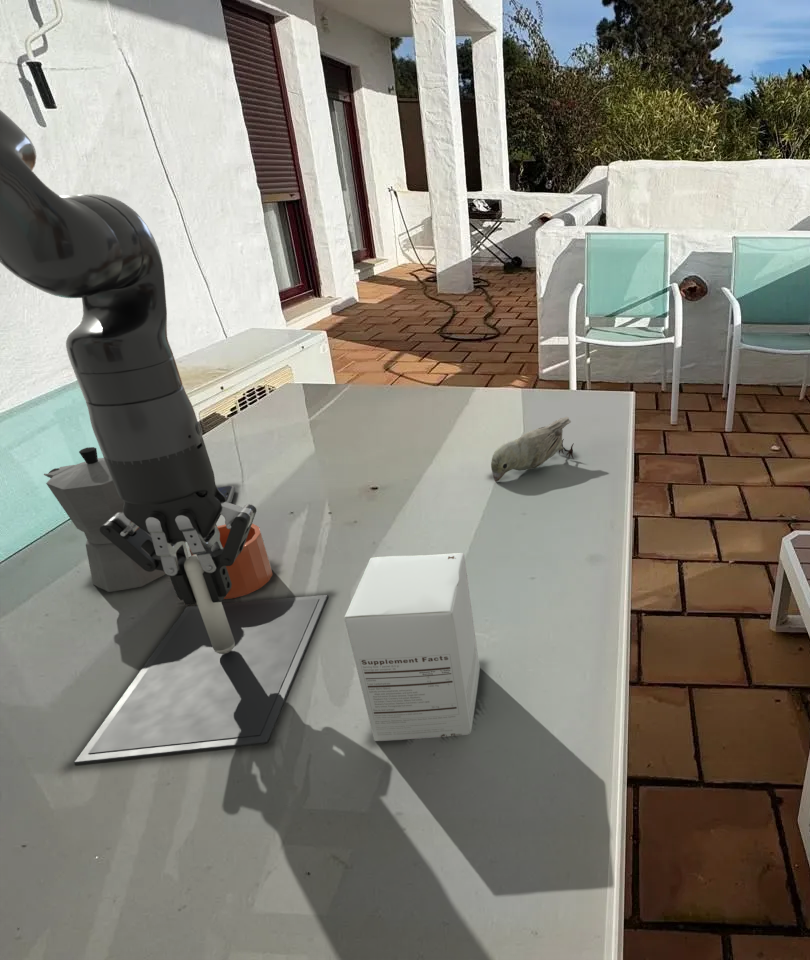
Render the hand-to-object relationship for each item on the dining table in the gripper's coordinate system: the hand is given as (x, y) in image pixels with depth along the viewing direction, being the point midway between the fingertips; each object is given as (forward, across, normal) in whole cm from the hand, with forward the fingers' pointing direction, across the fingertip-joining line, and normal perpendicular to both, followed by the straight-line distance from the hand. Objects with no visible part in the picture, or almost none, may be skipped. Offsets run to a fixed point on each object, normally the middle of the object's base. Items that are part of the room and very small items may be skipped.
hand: (208, 598), depth 64 cm
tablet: (+8, 0, -2) cm, 8 cm away
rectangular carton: (+8, +22, -10) cm, 26 cm away
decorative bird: (+8, +34, +43) cm, 56 cm away
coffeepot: (+8, -17, +18) cm, 26 cm away
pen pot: (+8, -4, +14) cm, 17 cm away
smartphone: (+8, -21, +37) cm, 43 cm away
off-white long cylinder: (+7, 0, 0) cm, 7 cm away
